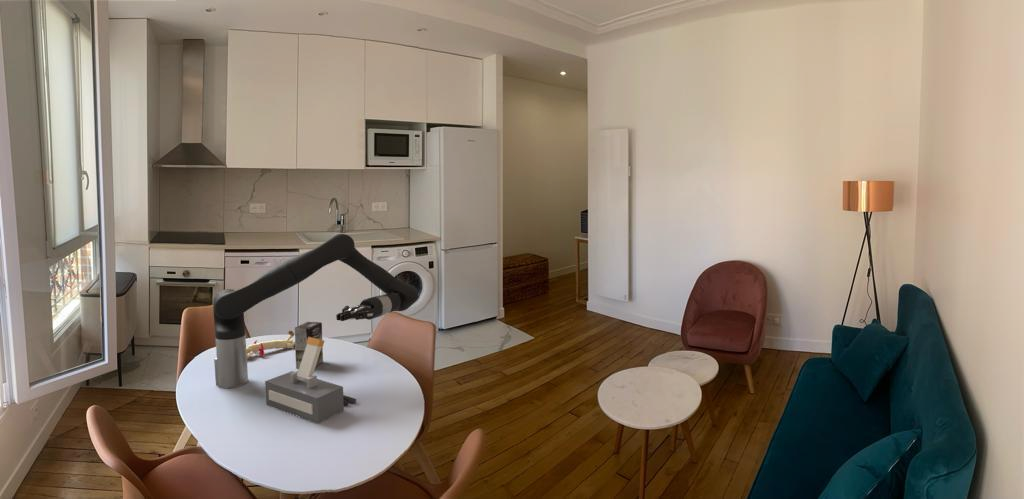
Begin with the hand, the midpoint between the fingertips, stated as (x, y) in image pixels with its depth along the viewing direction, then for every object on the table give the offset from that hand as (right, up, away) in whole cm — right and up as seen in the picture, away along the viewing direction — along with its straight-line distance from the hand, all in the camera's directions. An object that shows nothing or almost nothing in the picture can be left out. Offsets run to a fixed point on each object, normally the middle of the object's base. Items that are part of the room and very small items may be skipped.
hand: (339, 317), depth 175 cm
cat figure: (-44, -20, +39) cm, 62 cm away
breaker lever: (-8, -18, -11) cm, 22 cm away
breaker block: (-6, -27, -7) cm, 29 cm away
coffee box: (-20, -22, +27) cm, 41 cm away
